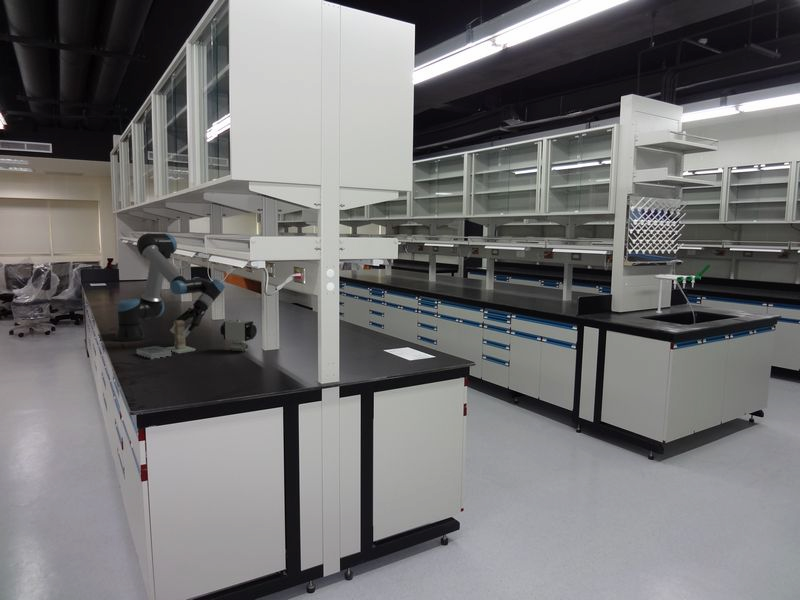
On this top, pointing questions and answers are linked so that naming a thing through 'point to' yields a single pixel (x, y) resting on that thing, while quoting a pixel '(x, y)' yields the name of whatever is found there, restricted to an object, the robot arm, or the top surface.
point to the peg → (179, 334)
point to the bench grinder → (238, 333)
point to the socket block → (154, 352)
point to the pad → (181, 349)
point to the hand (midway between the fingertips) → (177, 333)
